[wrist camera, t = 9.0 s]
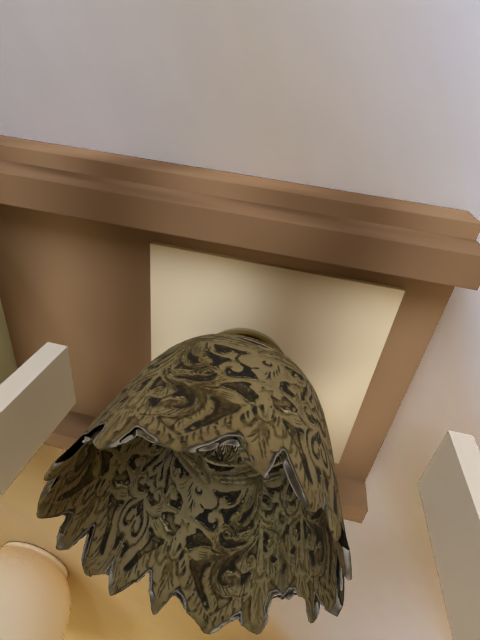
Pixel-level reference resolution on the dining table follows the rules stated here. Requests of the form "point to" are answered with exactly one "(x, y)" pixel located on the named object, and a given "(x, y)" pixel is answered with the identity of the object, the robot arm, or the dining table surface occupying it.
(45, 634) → the lidded jar
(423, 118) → the dining table surface
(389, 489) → the dining table surface
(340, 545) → the cup
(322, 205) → the brown wooden tray
